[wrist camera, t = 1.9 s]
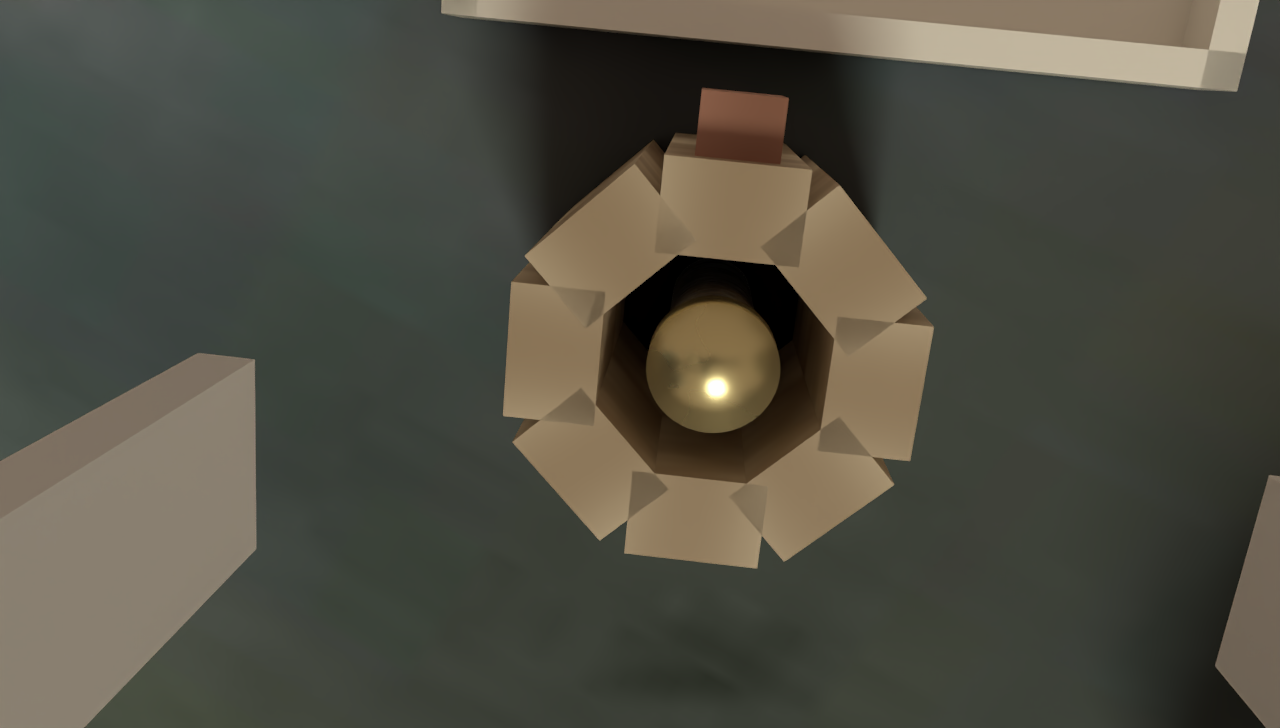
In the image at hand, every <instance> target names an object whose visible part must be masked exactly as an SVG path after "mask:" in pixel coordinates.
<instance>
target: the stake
mask: <svg viewBox="0 0 1280 728" xmlns="http://www.w3.org/2000/svg"><path fill="white" fill-rule="evenodd" d="M646 375H647V381H648V385H649V389H650V391H651V394H652V396H653V398H654V400H655V401H656V403H657V404H658V406H659V407H660V408H661V410H662V411H663V412H664V413H665V414H666V415H667V416H668V417H670V418H671V419H672V420H673V421H675V422H677V423H678V424H680V425H682V426H684V427H686V428H688V429H692V430H695V431H699V432H705V433H721V432H727V431H732V430H735V429H738V428H740V427H742V426H744V425H747V424H748V423H750V422H751V421H753V420H754V419H756V418H757V417H758V416H759V415H760V414H761V413H762V412H763V411H764V410H765V409H766V408H767V406H768V405H769V404H770V402H771V401H772V399H773V397H774V395H775V393H776V390H777V387H778V384H779V379H780V358H779V353H778V349H777V345H776V341H775V338H774V336H773V333H772V331H771V329H770V327H769V326H768V324H767V323H766V321H765V320H764V319H763V318H762V317H761V315H760V314H759V313H758V312H756V311H755V310H754V307H753V302H752V296H751V291H750V287H749V283H748V281H747V279H746V277H745V275H744V274H743V273H742V271H741V270H740V269H739V268H738V267H736V266H735V265H734V264H732V263H730V262H728V261H726V260H723V259H713V258H706V259H701V260H698V261H696V262H694V263H692V264H690V265H689V266H687V267H686V268H685V269H684V270H683V271H682V272H681V273H680V275H679V276H678V278H677V280H676V282H675V285H674V289H673V295H672V301H671V307H670V312H669V313H668V314H667V315H666V316H665V317H664V318H663V319H662V320H661V321H660V323H659V324H658V326H657V328H656V329H655V332H654V334H653V336H652V339H651V342H650V346H649V351H648V356H647V362H646Z"/></svg>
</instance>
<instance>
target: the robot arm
mask: <svg viewBox="0 0 1280 728" xmlns="http://www.w3.org/2000/svg"><path fill="white" fill-rule="evenodd" d="M255 550H256V452H255V359H247V358H238V357H229V356H220V355H212V354H203V353H197V354H195V355H194V356H192V357H190V358H188V359H186V360H184V361H183V362H181V363H179V364H177V365H175V366H173V367H172V368H170V369H168V370H166V371H164V372H162V373H161V374H159V375H157V376H155V377H153V378H151V379H150V380H148V381H146V382H144V383H142V384H140V385H139V386H137V387H135V388H133V389H131V390H130V391H128V392H126V393H124V394H122V395H120V396H119V397H117V398H115V399H113V400H111V401H109V402H108V403H106V404H104V405H102V406H100V407H98V408H97V409H95V410H93V411H91V412H89V413H87V414H86V415H84V416H82V417H80V418H78V419H76V420H75V421H73V422H71V423H69V424H67V425H65V426H64V427H62V428H60V429H58V430H56V431H54V432H53V433H51V434H49V435H47V436H45V437H43V438H42V439H40V440H38V441H36V442H34V443H33V444H31V445H29V446H27V447H25V448H23V449H22V450H20V451H18V452H16V453H14V454H12V455H11V456H9V457H7V458H5V459H3V460H1V461H0V728H84V727H85V726H86V725H87V724H88V723H89V722H90V721H91V720H92V719H93V718H94V717H95V716H96V715H97V714H98V713H99V711H100V710H101V709H102V708H103V707H104V706H105V705H106V704H107V703H108V702H109V701H110V700H111V699H112V698H113V697H114V696H115V695H116V694H117V693H118V692H119V691H120V690H121V689H122V688H123V687H124V686H125V685H126V683H127V682H128V681H129V680H130V679H131V678H132V677H133V676H134V675H135V674H136V673H137V672H138V671H139V670H140V669H141V668H142V667H143V666H144V665H145V664H146V663H147V662H148V661H149V660H150V659H151V658H152V657H153V655H154V654H155V653H156V652H157V651H158V650H159V649H160V648H161V647H162V646H163V645H164V644H165V643H166V642H167V641H168V640H169V639H170V638H171V637H172V636H173V635H174V634H175V633H176V632H177V631H178V630H179V629H180V627H181V626H182V625H183V624H184V623H185V622H186V621H187V620H188V619H189V618H190V617H191V616H192V615H193V614H194V613H195V612H196V611H197V610H198V609H199V608H200V607H201V606H202V605H203V604H204V603H205V602H206V601H207V599H208V598H209V597H210V596H211V595H212V594H213V593H214V592H215V591H216V590H217V589H218V588H219V587H220V586H221V585H222V584H223V583H224V582H225V581H226V580H227V579H228V578H229V577H230V576H231V575H232V574H233V572H234V571H235V570H236V569H237V568H238V567H239V566H240V565H241V564H242V563H243V562H244V561H245V560H246V559H247V558H248V557H249V556H250V555H251V554H252V553H253V552H254V551H255ZM1215 667H1216V668H1217V669H1218V670H1219V672H1220V673H1221V674H1222V675H1223V676H1224V678H1225V679H1226V680H1227V681H1228V683H1229V684H1230V685H1231V686H1232V687H1233V689H1234V690H1235V691H1236V692H1237V693H1238V695H1239V696H1240V697H1241V698H1242V699H1243V701H1244V702H1245V703H1246V704H1247V705H1248V707H1249V708H1250V709H1251V710H1252V712H1253V713H1254V714H1255V715H1256V716H1257V718H1258V719H1259V720H1260V721H1261V722H1262V724H1263V725H1264V726H1265V727H1266V728H1280V476H1273V475H1269V477H1268V480H1267V484H1266V487H1265V491H1264V494H1263V498H1262V502H1261V505H1260V509H1259V512H1258V516H1257V519H1256V523H1255V526H1254V530H1253V533H1252V537H1251V540H1250V544H1249V547H1248V551H1247V554H1246V558H1245V561H1244V565H1243V569H1242V572H1241V576H1240V579H1239V583H1238V586H1237V590H1236V593H1235V597H1234V600H1233V604H1232V607H1231V611H1230V614H1229V618H1228V621H1227V625H1226V628H1225V632H1224V635H1223V639H1222V643H1221V646H1220V650H1219V653H1218V657H1217V660H1216V664H1215Z"/></svg>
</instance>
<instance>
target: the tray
mask: <svg viewBox="0 0 1280 728" xmlns="http://www.w3.org/2000/svg"><path fill="white" fill-rule="evenodd" d="M1258 4H1259V0H442V4H441V13H442V14H447V15H452V16H456V17H461V18H471V19H481V20H492V21H502V22H512V23H522V24H532V25H542V26H552V27H563V28H573V29H583V30H593V31H603V32H613V33H624V34H634V35H644V36H654V37H664V38H674V39H685V40H695V41H705V42H715V43H725V44H735V45H745V46H756V47H766V48H776V49H786V50H796V51H806V52H817V53H827V54H837V55H847V56H857V57H867V58H878V59H888V60H898V61H908V62H918V63H928V64H939V65H949V66H959V67H969V68H979V69H989V70H999V71H1010V72H1020V73H1030V74H1040V75H1050V76H1060V77H1071V78H1081V79H1091V80H1101V81H1111V82H1121V83H1132V84H1142V85H1152V86H1162V87H1172V88H1182V89H1193V90H1212V91H1237V89H1238V85H1239V81H1240V77H1241V73H1242V69H1243V65H1244V61H1245V57H1246V53H1247V49H1248V45H1249V40H1250V36H1251V32H1252V28H1253V24H1254V20H1255V16H1256V12H1257V8H1258Z"/></svg>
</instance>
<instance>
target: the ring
mask: <svg viewBox="0 0 1280 728" xmlns="http://www.w3.org/2000/svg"><path fill="white" fill-rule="evenodd" d="M788 102H789V98H787V97H784V96H781V95H771V94H761V93H751V92H741V91H731V90H721V89H711V88H702V93H701V102H700V111H699V120H698V130H697V135H694V134H684V133H675V135H674V137H673V139H672V141H671V143H670V145H669V146H668V148H667V150H666V152H665V153H664V152H663V151H662V149H661V148H660V147H659V146H658V144H657V143H656V142H655V141H654V139H653V140H652V141H651V142H650V143H649V144H647V145H646V146H645V147H644V148H643V149H641V150H640V151H639V152H638V153H637V154H635V155H634V156H633V157H632V158H631V159H630V160H628V161H627V162H626V163H625V164H624V165H622V166H621V167H620V168H619V169H618V170H616V171H615V172H614V173H613V174H612V175H610V176H609V177H608V178H607V179H606V180H604V181H603V182H602V183H601V184H600V185H598V186H597V187H596V188H595V189H594V190H592V191H591V192H590V193H589V194H588V195H587V196H585V197H584V198H583V199H582V200H581V201H579V202H578V203H577V204H576V205H575V206H573V207H572V208H571V209H570V210H569V211H568V212H567V213H566V214H565V215H564V216H563V217H562V218H561V219H560V220H559V221H558V222H557V223H556V224H555V225H554V226H553V227H552V228H551V229H550V230H549V231H548V232H547V233H546V234H545V235H544V236H543V237H542V239H541V240H540V241H539V242H538V243H537V244H536V245H535V246H534V247H533V248H532V249H531V250H530V251H529V252H528V253H527V254H526V255H525V257H526V258H527V259H528V261H529V263H528V264H527V265H526V267H525V268H524V269H523V270H522V271H521V272H520V273H519V274H518V275H517V276H516V277H515V278H514V280H513V281H512V282H511V296H510V312H509V328H508V344H507V360H506V376H505V392H504V408H503V416H508V417H517V418H525V419H524V421H523V422H522V424H521V426H520V428H519V430H518V432H517V434H516V436H515V438H514V440H513V443H514V445H515V446H516V447H517V448H518V449H519V450H520V451H521V452H522V454H523V455H524V456H525V457H526V458H527V459H528V460H529V461H530V463H531V464H532V465H533V466H534V467H535V468H536V469H537V470H538V472H539V473H540V474H541V475H542V476H543V477H544V478H545V479H546V481H547V482H548V483H549V484H550V485H551V486H552V487H553V489H554V490H555V491H556V492H557V493H558V494H559V495H560V496H561V498H562V499H563V500H564V501H565V502H566V503H567V504H568V505H569V507H570V508H571V509H572V510H573V511H574V512H575V513H576V514H577V516H578V517H579V518H580V519H581V520H582V521H583V522H584V523H585V525H586V526H587V527H588V528H589V529H590V530H591V531H592V532H593V534H594V535H595V536H596V537H597V538H598V539H599V540H601V539H602V538H604V537H605V536H607V535H608V534H609V533H611V532H612V531H613V530H615V529H616V528H617V527H619V526H620V525H621V524H623V523H624V522H625V521H627V520H628V522H627V532H626V542H625V552H624V553H627V554H635V555H644V556H653V557H661V558H670V559H679V560H687V561H696V562H705V563H713V564H722V565H731V566H739V567H748V568H757V564H758V557H759V550H760V543H761V535H762V536H763V537H764V539H765V540H766V541H767V542H768V543H769V544H770V546H771V547H772V548H773V549H774V550H775V552H776V553H777V554H778V555H779V556H780V557H781V559H782V560H783V561H784V562H785V561H786V560H787V559H789V558H790V557H792V556H793V555H795V554H796V553H797V552H799V551H800V550H802V549H803V548H805V547H806V546H807V545H809V544H810V543H812V542H813V541H815V540H816V539H818V538H819V537H820V536H822V535H823V534H825V533H826V532H828V531H829V530H830V529H832V528H833V527H835V526H836V525H838V524H839V523H840V522H842V521H843V520H845V519H846V518H848V517H849V516H850V515H852V514H853V513H855V512H856V511H858V510H859V509H860V508H862V507H863V506H865V505H866V504H868V503H869V502H871V501H872V500H873V499H875V498H876V497H878V496H879V495H881V494H882V493H883V492H885V491H886V490H888V489H889V488H891V487H892V486H893V485H894V483H893V481H892V478H891V476H890V474H889V472H888V469H887V467H886V465H885V463H884V461H883V458H886V459H895V460H904V461H910V458H911V453H912V447H913V441H914V436H915V430H916V425H917V419H918V413H919V408H920V402H921V397H922V391H923V385H924V380H925V374H926V369H927V363H928V358H929V352H930V346H931V341H932V335H933V330H934V326H933V325H932V324H931V323H930V322H929V321H928V320H927V319H926V317H925V316H924V315H923V314H922V313H921V312H920V311H919V309H918V308H917V307H916V306H918V305H919V304H920V303H922V302H923V301H924V300H926V299H927V298H926V296H925V295H924V294H923V293H922V291H921V290H920V289H919V287H918V286H917V285H916V283H915V282H914V281H913V280H912V278H911V277H910V276H909V274H908V273H907V272H906V270H905V269H904V268H903V267H902V265H901V264H900V263H899V261H898V260H897V259H896V257H895V256H894V255H893V254H892V252H891V251H890V250H889V248H888V247H887V246H886V244H885V243H884V242H883V241H882V239H881V238H880V237H879V235H878V234H877V233H876V231H875V230H874V229H873V228H872V226H871V225H870V224H869V222H868V221H867V220H866V219H865V217H864V216H863V215H862V213H861V212H860V211H859V209H858V208H857V207H856V206H855V204H854V203H853V202H852V200H851V199H850V198H849V196H848V195H847V194H846V193H845V191H844V190H843V189H842V187H841V186H840V185H839V184H838V183H837V182H836V181H835V180H833V179H832V178H831V177H830V176H829V175H828V174H826V173H825V172H824V171H823V170H822V169H821V168H820V167H818V166H817V165H816V164H815V163H814V162H813V161H812V160H810V159H809V158H808V157H807V156H806V155H804V156H803V157H802V158H799V157H798V156H797V155H796V154H795V153H794V152H793V151H792V150H791V149H790V148H789V147H788V146H787V145H786V144H783V140H784V133H785V125H786V117H787V110H788ZM677 255H685V256H694V257H704V258H713V259H723V260H732V261H742V262H751V263H761V264H770V265H776V267H777V268H778V269H779V270H780V272H781V273H782V274H783V275H784V277H785V278H786V279H787V280H788V282H789V283H790V284H791V285H792V287H793V288H794V289H795V290H796V292H797V293H798V294H799V296H798V304H797V311H796V318H795V325H794V332H793V339H792V341H790V342H789V343H788V344H786V345H785V346H784V347H782V348H781V349H780V350H778V353H779V358H780V379H779V384H778V387H777V390H776V393H775V395H774V397H773V399H772V401H771V402H770V404H769V405H768V406H767V408H766V409H765V410H764V411H763V412H762V413H761V414H760V415H759V416H758V417H757V418H756V419H754V420H753V421H751V422H750V423H748V424H747V425H744V426H742V427H740V428H738V429H735V430H732V431H727V432H721V433H705V432H699V431H695V430H692V429H688V428H686V427H684V426H682V425H680V424H678V423H677V422H675V421H673V420H672V419H671V418H670V417H668V416H667V415H666V414H665V413H664V412H663V411H662V410H661V408H660V407H659V406H658V404H657V403H656V401H655V400H654V398H653V396H652V394H651V391H650V389H649V385H648V381H647V375H646V362H647V356H648V351H647V349H646V348H645V347H644V346H643V345H642V343H641V342H640V341H639V340H638V339H637V338H636V336H635V335H634V334H633V333H632V332H631V330H630V329H629V328H628V327H627V326H626V324H625V323H624V322H623V319H624V308H625V297H626V296H627V295H628V294H630V293H631V292H632V291H633V290H635V289H636V288H637V287H638V286H640V285H641V284H642V283H643V282H644V281H646V280H647V279H648V278H649V277H651V276H652V275H653V274H654V273H656V272H657V271H658V270H659V269H661V268H662V267H663V266H664V265H666V264H667V263H668V262H669V261H671V260H672V259H673V258H674V257H676V256H677Z"/></svg>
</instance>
